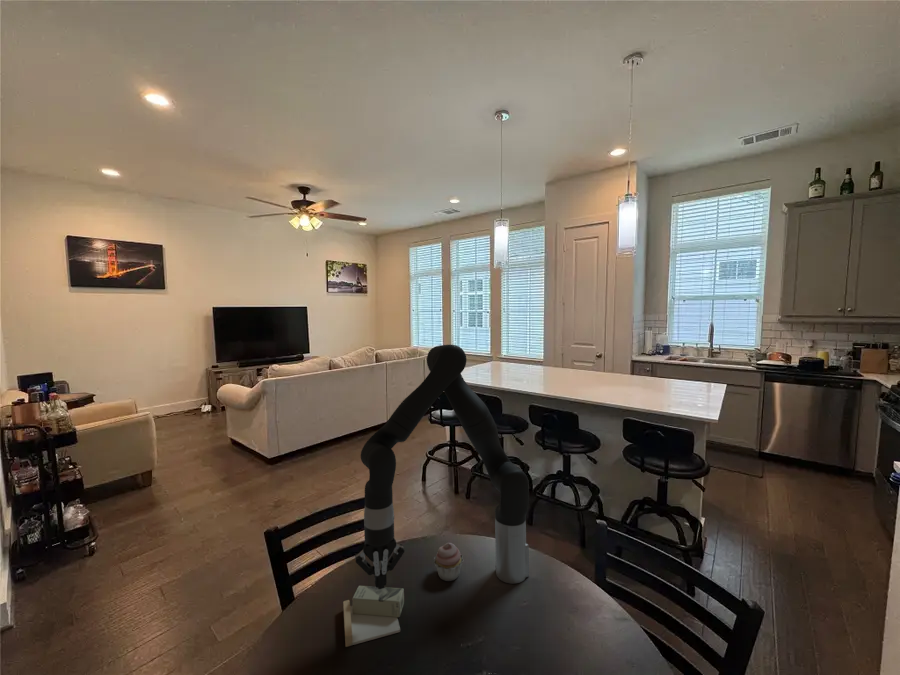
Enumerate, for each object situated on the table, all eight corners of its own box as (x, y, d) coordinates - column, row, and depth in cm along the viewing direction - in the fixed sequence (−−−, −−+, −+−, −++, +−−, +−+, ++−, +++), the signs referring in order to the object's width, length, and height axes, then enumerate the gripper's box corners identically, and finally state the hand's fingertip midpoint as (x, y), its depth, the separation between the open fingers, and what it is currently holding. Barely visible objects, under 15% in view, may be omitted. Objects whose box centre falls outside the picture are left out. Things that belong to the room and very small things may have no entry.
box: (400, 601, 95) (351, 598, 96) (400, 618, 95) (351, 615, 96) (404, 587, 100) (358, 584, 101) (404, 602, 100) (358, 600, 101)
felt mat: (392, 598, 103) (392, 589, 103) (400, 631, 91) (400, 622, 91) (343, 610, 99) (343, 601, 98) (345, 647, 87) (345, 636, 87)
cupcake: (430, 583, 108) (430, 550, 108) (436, 563, 118) (436, 533, 117) (462, 587, 107) (461, 553, 107) (465, 566, 116) (465, 535, 116)
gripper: (401, 509, 100) (403, 572, 100) (351, 518, 96) (353, 583, 96) (407, 523, 93) (408, 590, 93) (353, 533, 88) (355, 603, 89)
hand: (380, 586), depth 95 cm, fingers closed
